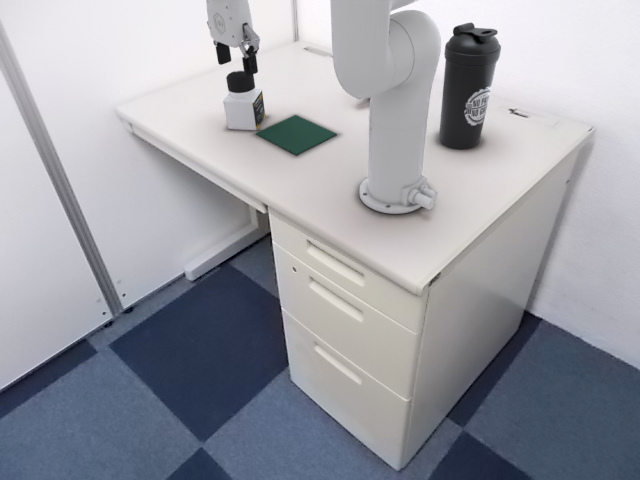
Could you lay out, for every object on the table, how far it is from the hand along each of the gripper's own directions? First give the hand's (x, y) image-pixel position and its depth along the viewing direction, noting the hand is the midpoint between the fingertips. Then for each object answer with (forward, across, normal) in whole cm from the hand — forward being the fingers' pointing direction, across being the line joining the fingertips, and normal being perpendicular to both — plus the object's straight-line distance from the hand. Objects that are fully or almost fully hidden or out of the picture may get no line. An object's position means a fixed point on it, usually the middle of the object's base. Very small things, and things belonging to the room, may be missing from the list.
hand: (237, 68), depth 108 cm
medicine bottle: (+13, 0, 0) cm, 13 cm away
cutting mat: (+13, +14, +4) cm, 19 cm away
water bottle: (+13, +41, +26) cm, 50 cm away
